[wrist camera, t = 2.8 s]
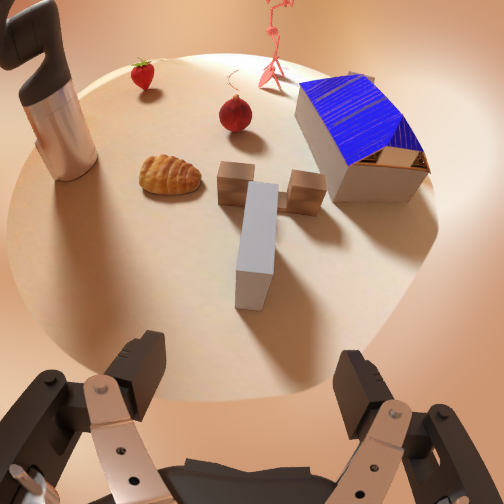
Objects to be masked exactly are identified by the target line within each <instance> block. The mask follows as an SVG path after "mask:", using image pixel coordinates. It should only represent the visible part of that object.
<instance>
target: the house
mask: <svg viewBox="0 0 504 504" xmlns="http://www.w3.org/2000/svg"><path fill="white" fill-rule="evenodd" d="M299 85H300V91H299V96H298V101H297V106H296V111H295V118H296V120H297V122H298V124H299V126H300V128H301V130H302V132H303V135H304V137H305V139H306V141H307V143H308V145H309V148H310V150H311V152H312V154H313V157H314V159H315V161H316V164H317V166H318V168H319V171H320V173H321V174H323V175H325V179H326V188H327V190H328V193H329V195H330V198H331V200H332V203H343V202H409V200H410V199H411V197H412V196H413V195H414V193H415V192H416V190H417V189H418V188H419V186H420V185H421V183H422V182H423V180H424V179H425V177H426V176H427V175H428V173H430V174H431V172H430V168H429V165H428V162H427V159H426V157H425V153H424V151H423V149H422V147H421V145H420V143H419V142H418V140H417V138H416V136H415V134H414V133H413V131H412V129H411V128H410V126H409V124H408V123H407V121H406V119H405V118H404V116H403V114H401V113H400V111H399V110H398V109H397V108H396V107H395V106H394V105H393V104H392V103H391V101H389V100H388V98H387V97H386V96H385V95H384V94H383V93H382V92H381V91H380V90H379V89H378V88H377V87H376V86H375V85H374V84H373V83H372V82H371V81H370V80H369V79H368V78H367V77H366V76H364V75H363V74H357V75H348V76H340V77H333V78H326V79H320V80H314V81H309V82H303V83H299ZM420 158H421V159H420ZM423 162H424V163H423Z"/></svg>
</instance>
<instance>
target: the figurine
mask: <svg viewBox="0 0 504 504" xmlns="http://www.w3.org/2000/svg"><path fill="white" fill-rule="evenodd" d="M266 1H267V4H269V2H270V0H266ZM293 1H294V0H291V3H290V2H289V1H288V0H283V3H282V4H279V5H277V6H275V7H272V9H270V27H269V28H268V29H267V33H268V34H269V35H270V36H271V37H272V38H273V36H275V35H276V36H278V35H277V33H278V30H277V28H276V27H273V26H272V15H273V9H275V8H277V7H279V6H281V5H284V6H285V7H286V6H287V4H289V5H290V6H291V7H292V6H293ZM279 38H280V37H279V36H278V41H277V43H276V41H275V39H274V38H273V40H274V42H275V44H276V46H277V47H276V50H275V54H274V57H273V60H272V62H271V63H270V64H269V65H268V66H267V67H266V68H265V69H267V68H268V67H269V66H270V65H271V66H270V67H269V68H268V69H267V70H266V71H265V72H264V73H263V75H262V77H261V79H260V82H259V86H258V87H261V86H262V85H264V84H265V83H267V82H268V81H269V80H270V79H271V77H272V76H274V78H275V81H276V83H277V85H278V87H279V89H280V88H281V86H280V84H279V82H278V80H277V78H276V75H275V73H274V71H275V67H274V66H272V65H273V62H274V61H276V62H277V65H278V67H279V69H280V71H281V74H282V76H284V73H283V71H282V69H281V67H280V64H279V62H278V60H277V59H278V58H279V57H276V55H277V49H278V43H279ZM265 69H264V70H265ZM285 69H287V68H285ZM233 73H234V72H233ZM228 79H229V78H228ZM227 84H228V83H227ZM229 84H230V83H229ZM229 84H228V85H229ZM230 85H231V84H230ZM231 86H232V85H231ZM232 87H233V86H232ZM235 89H236V88H235ZM237 90H238V89H237Z"/></svg>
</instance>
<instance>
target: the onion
mask: <svg viewBox="0 0 504 504" xmlns="http://www.w3.org/2000/svg"><path fill="white" fill-rule="evenodd" d="M219 118H220V122H221V124H222V125H223V126H224V127H225V128H226V129H227V130H229V131H232V132H238V131H241V130H243V129H245V128H246V127H247V126H248V125H249V124H250V122H251V119H252V111H251V108H250V106H249V105H248V103H247V102H245V101H244V100H242V99H240V98H239V95H237V94H235V95H234V96H233V99H231V100H229V101H227V102H226V103H225V104H224V105H223V106H222V108H221V109H220V112H219Z"/></svg>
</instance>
